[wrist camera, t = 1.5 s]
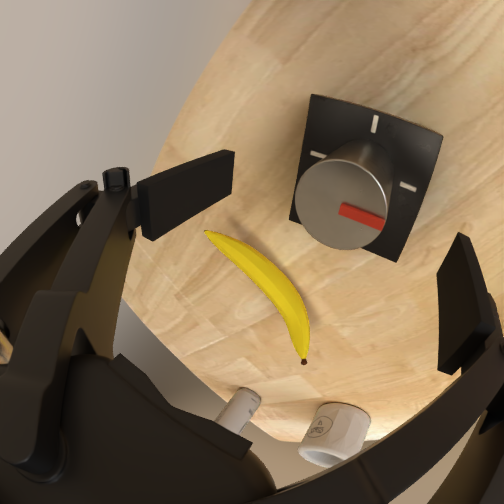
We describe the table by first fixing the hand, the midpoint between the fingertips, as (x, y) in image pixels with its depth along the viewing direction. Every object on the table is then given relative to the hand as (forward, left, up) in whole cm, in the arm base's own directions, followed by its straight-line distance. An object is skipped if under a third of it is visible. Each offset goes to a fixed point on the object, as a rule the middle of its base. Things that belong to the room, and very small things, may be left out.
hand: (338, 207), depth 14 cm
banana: (+16, -6, -12) cm, 20 cm away
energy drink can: (+52, -6, -12) cm, 53 cm away
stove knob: (0, 0, -9) cm, 9 cm away
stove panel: (+1, 0, -11) cm, 11 cm away
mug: (+43, +13, -12) cm, 46 cm away
